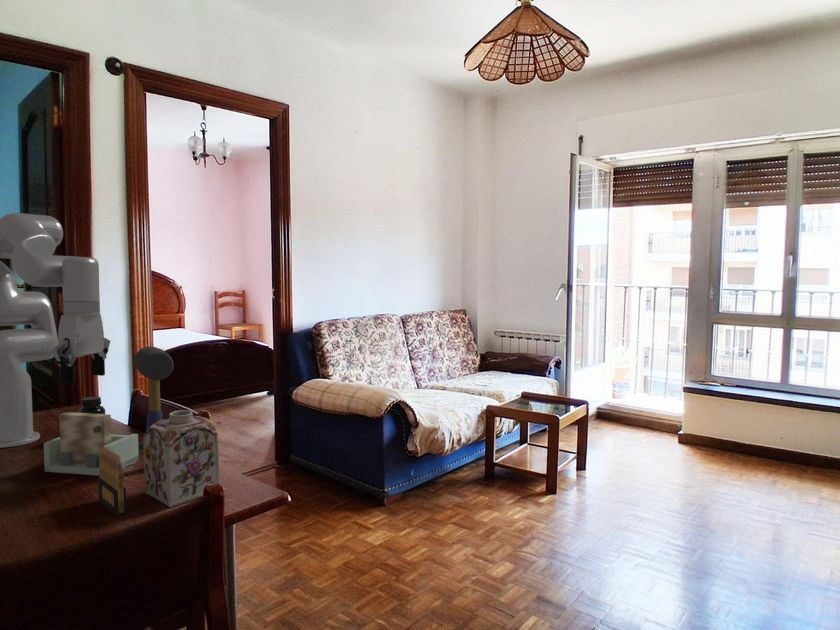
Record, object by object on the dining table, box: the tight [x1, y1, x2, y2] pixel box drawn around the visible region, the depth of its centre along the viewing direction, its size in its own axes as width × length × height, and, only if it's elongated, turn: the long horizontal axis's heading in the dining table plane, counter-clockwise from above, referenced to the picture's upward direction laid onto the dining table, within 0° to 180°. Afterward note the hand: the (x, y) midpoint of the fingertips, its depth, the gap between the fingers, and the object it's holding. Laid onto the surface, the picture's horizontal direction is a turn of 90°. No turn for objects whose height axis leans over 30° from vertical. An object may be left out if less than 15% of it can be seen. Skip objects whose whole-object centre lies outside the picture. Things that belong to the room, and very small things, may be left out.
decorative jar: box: [142, 409, 220, 508], centre depth 121 cm, size 12×12×18 cm
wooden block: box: [58, 411, 112, 466], centre depth 135 cm, size 12×3×12 cm, turn 81°
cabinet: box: [43, 433, 140, 476], centre depth 138 cm, size 17×11×7 cm, turn 81°
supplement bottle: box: [77, 396, 106, 414], centre depth 159 cm, size 7×7×12 cm
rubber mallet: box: [133, 346, 174, 432], centre depth 136 cm, size 12×8×30 cm, turn 37°
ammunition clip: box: [97, 445, 128, 516], centre depth 114 cm, size 11×2×12 cm, turn 47°
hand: (83, 378), depth 134 cm, fingers open, 9 cm apart
